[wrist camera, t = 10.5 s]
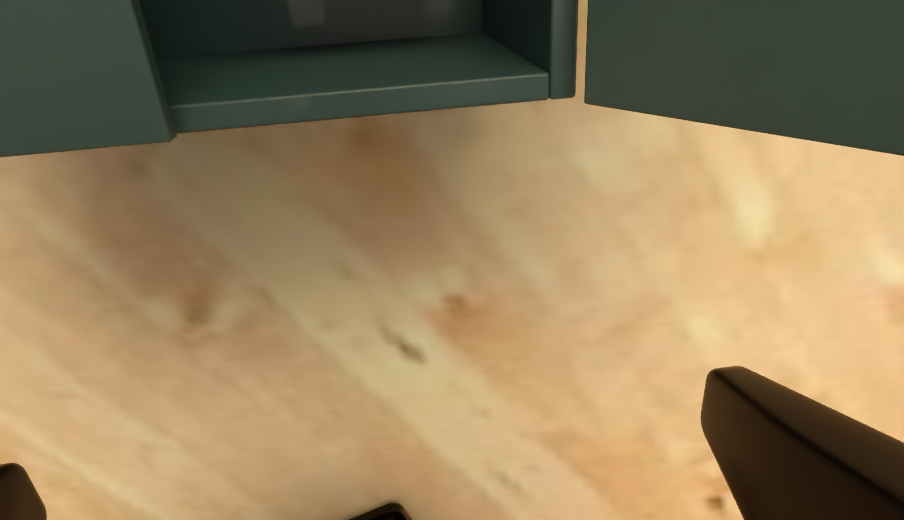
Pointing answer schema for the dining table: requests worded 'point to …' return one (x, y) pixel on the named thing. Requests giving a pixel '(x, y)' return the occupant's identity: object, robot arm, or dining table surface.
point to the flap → (755, 65)
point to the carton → (264, 64)
